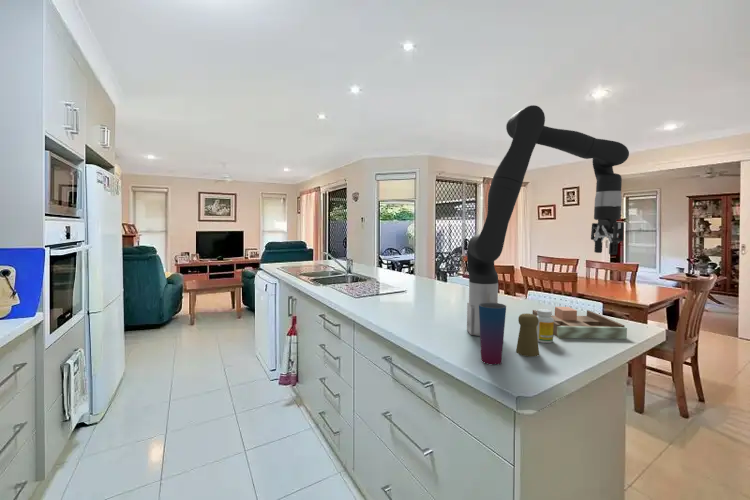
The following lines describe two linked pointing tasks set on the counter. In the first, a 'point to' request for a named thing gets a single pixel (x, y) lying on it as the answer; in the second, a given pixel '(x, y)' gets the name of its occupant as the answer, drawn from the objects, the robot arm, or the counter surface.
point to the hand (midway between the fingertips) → (605, 253)
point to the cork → (528, 335)
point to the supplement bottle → (545, 326)
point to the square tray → (588, 327)
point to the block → (565, 313)
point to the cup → (492, 331)
